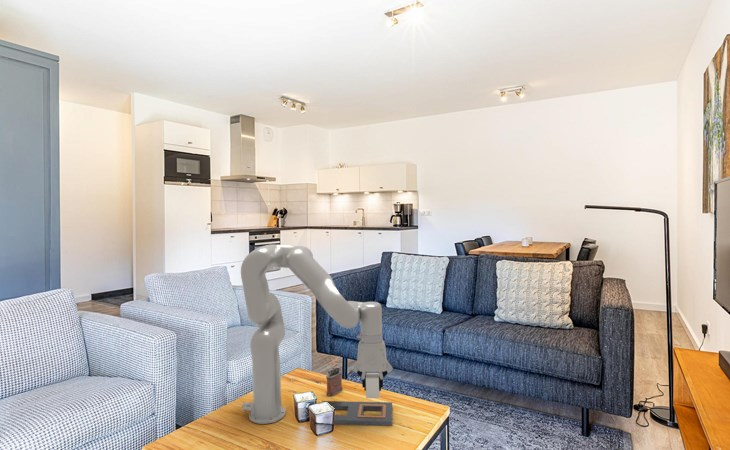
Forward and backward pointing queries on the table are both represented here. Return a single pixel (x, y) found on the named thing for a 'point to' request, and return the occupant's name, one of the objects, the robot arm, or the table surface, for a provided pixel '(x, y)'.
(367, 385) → the peg
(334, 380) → the reddish brown rectangular container
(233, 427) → the table surface
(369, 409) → the dark grey slotted board
